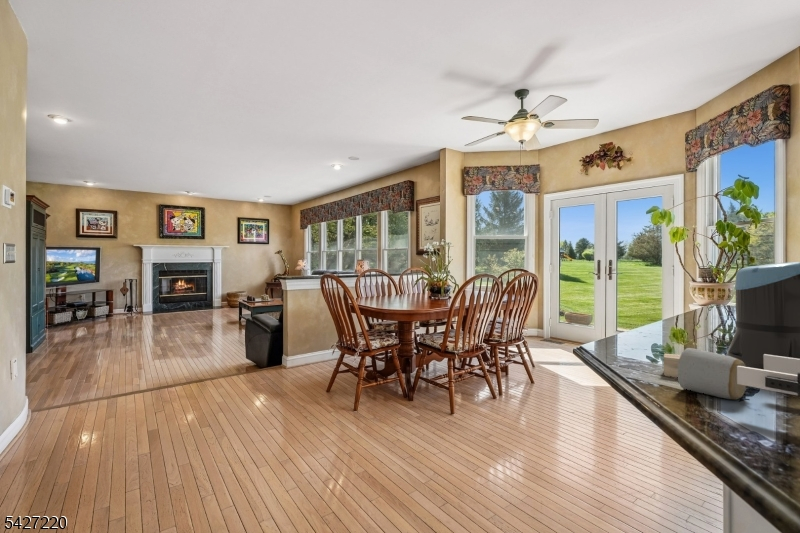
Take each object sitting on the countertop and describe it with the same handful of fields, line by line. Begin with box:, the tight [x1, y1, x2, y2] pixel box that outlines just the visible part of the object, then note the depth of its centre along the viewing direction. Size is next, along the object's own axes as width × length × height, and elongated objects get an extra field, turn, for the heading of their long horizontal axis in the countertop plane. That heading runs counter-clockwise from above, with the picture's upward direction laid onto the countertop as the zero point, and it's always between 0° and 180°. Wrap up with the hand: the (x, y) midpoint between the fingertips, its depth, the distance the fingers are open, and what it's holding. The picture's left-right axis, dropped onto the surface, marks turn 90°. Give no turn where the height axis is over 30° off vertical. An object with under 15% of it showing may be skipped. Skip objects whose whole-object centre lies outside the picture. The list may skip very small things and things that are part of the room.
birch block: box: [663, 353, 681, 378], centre depth 78 cm, size 4×4×4 cm
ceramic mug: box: [677, 347, 747, 401], centre depth 67 cm, size 11×8×8 cm
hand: (751, 368), depth 62 cm, fingers open, 13 cm apart
